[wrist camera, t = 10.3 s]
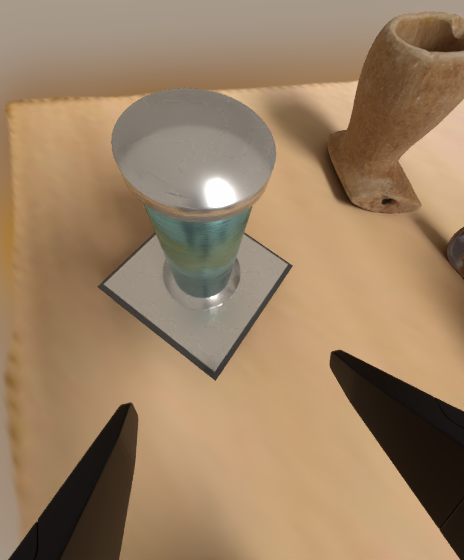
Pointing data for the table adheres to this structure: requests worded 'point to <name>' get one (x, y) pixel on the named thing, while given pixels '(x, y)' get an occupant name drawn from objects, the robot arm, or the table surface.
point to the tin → (457, 251)
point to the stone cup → (398, 107)
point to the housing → (195, 184)
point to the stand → (190, 323)
